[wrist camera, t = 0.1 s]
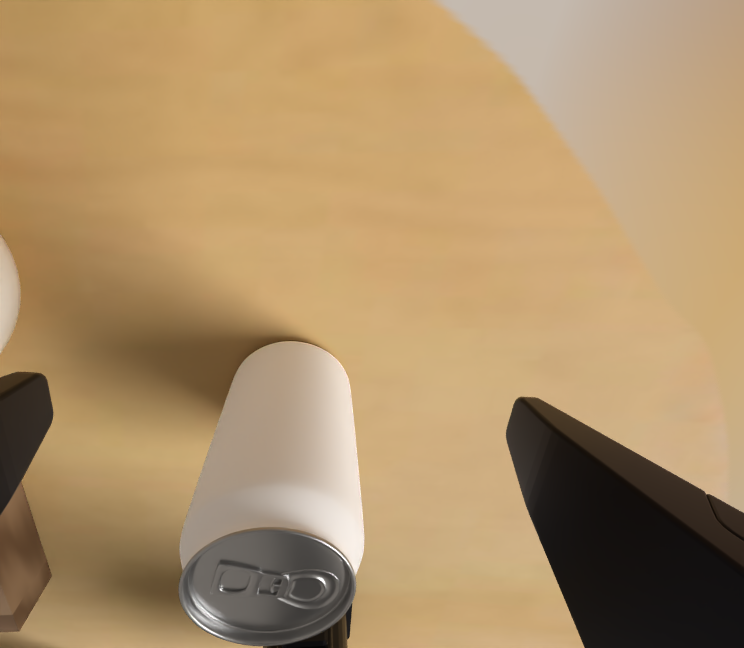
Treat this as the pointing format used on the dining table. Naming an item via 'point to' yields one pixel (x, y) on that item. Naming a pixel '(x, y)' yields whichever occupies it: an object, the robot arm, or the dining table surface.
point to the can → (276, 504)
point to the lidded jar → (8, 294)
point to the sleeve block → (20, 563)
